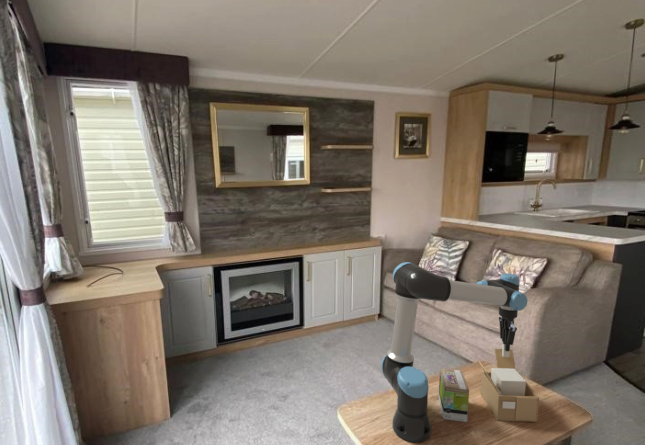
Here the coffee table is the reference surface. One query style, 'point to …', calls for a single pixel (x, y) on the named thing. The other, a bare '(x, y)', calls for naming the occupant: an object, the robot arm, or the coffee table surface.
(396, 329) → the robot arm
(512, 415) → the carton
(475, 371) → the coffee table surface
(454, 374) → the tea box
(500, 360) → the flap far
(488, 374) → the flap left
